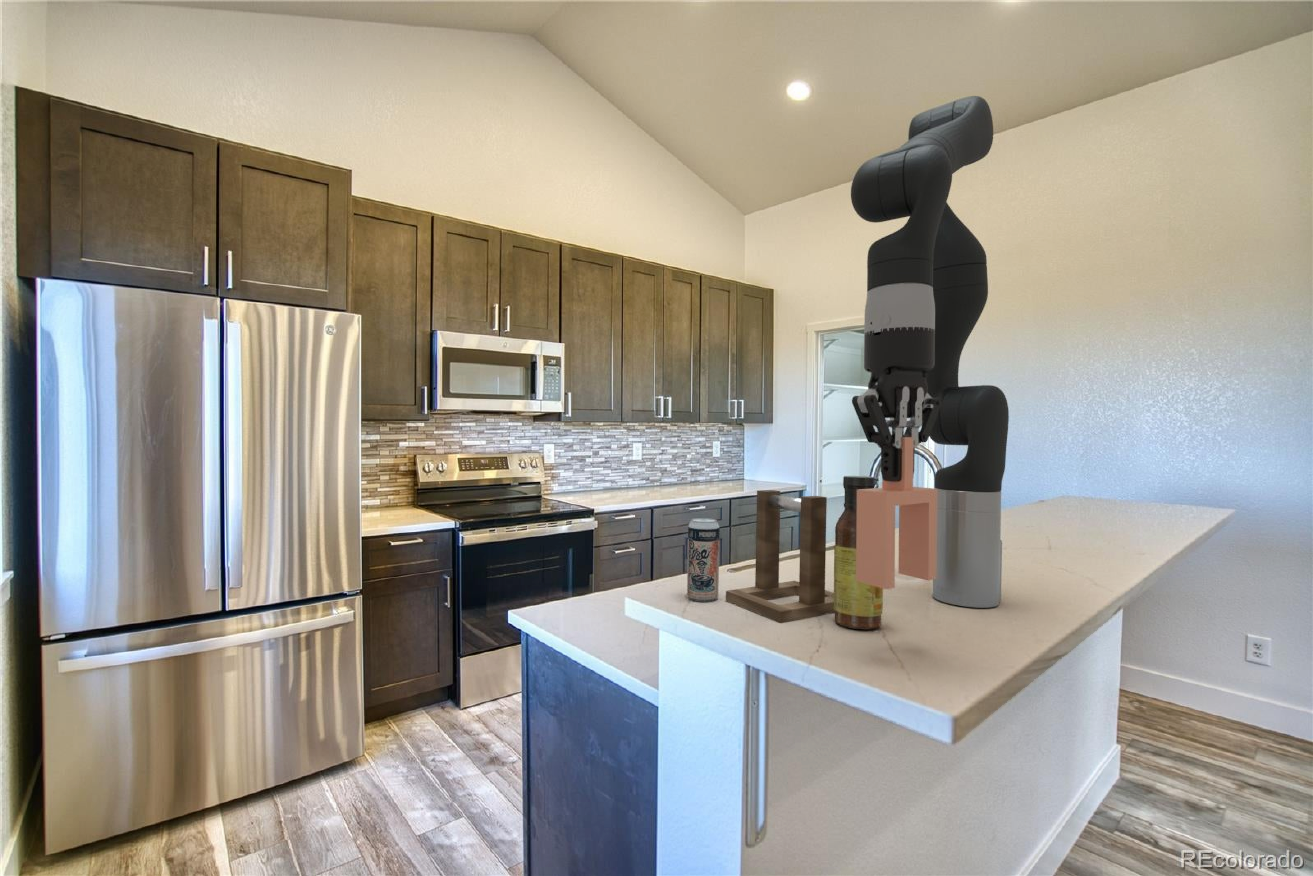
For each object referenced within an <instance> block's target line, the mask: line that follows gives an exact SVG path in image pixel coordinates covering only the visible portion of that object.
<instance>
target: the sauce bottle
mask: <svg viewBox="0 0 1313 876" xmlns="http://www.w3.org/2000/svg"><path fill="white" fill-rule="evenodd" d="M842 481H843V484H842V485H843V489H844V503H843V507H844V511H842V514H841V515H840V517H838V519H837V521H836V523H835V528H834V532H835V534H834V535H835V536H834V537H835V539H834V540H835V541H834V542H835V543H834V549H833V555H834V556H833V557H834V559H833V593H834V610H835V612H834V615H833V616H834V617H833V618H834V621H835V622H836V623H837V624H838V625H840V626H843V627H845V628H849V629H854V630H867V631H868V630H874V629H877V628H879V627H880V626H881V624H882V615H883V608H884V607H883V602H884V601H883V600H884V599H883V597H884V596H883V594H884V591H883V590H884V589H883V588H879V587H875V586H872V585H868V584H864V583H861V582H857V581H856V528H857V490H859V489H873V488H875V487H876V484H875V483H876V478H875V476H868V475H844V476H843V479H842Z"/></svg>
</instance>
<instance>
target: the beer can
mask: <svg viewBox="0 0 1313 876" xmlns="http://www.w3.org/2000/svg"><path fill="white" fill-rule="evenodd" d="M689 521H690V522H689V524H688V527H687V575H686V578H687V579H686V581H687V583H686V584H687V585H686V596H687V597H689V598H690V599H691V600H692V601H696V602H711V601H714V600H715V599H716V598H718V597H719V582H720V581H719V579H720V577H719V576H720V571H719V570H720V525H719V522H718V520H717V519H715V518H708V517H706V518H703V517H700V518H698V517H697V518H692V519H690V520H689Z"/></svg>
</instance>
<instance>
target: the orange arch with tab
mask: <svg viewBox="0 0 1313 876" xmlns="http://www.w3.org/2000/svg"><path fill="white" fill-rule="evenodd" d="M898 449H902V479H901V481H899V482H891V481H884V480H883V479H882V478H881V481H882V482H881V487H876V488H875V487H874V488H873V489H859V490H857V528H856V581H857V582H861V583H864V584H868V585H872V586H875V587H879V588H883V590H887V589H888V590H889V589H893V588H895V583H896V582H895V581H896V580H895V578H896V577H895V576H896V574H895V573H896V572H895V571H896V570H895V569H896V567H895V565H896V560H895V559H896V506H897V507H898V575H899V574H900V575H903V576H908V577H912V578H915V579H916V578H917V579H920V580H924V581H933V580H934V579H936V574H937V489H935V488H932V487H922V486H921V487H920V486H914V474H913V437H902V446H901V447H900V448H898Z"/></svg>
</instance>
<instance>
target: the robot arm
mask: <svg viewBox="0 0 1313 876" xmlns="http://www.w3.org/2000/svg"><path fill="white" fill-rule="evenodd" d="M907 136H908V141H906V142H904V143H903V144H902V145H901V146H899V147H898V148H896V149H893V150H890V151H888V152H884V153H882V154H879V155H877V156H874V157H872V158H870V159H868V160H866V161H865V162H864V163H862V164H861V165H860V166H859V168H858V169H857V171H856V173H855V175H854V176H853V179H852V182H851V187H850V200H851V204H852V207H853V209H854V211H855V213H856V215H858V217H859V218H861V219H862V220H864V221H866V222H868V223H873V224H875V223H884V222H889V221H892V220H898V219H903V218H907V217H908V220H907V222H906V223H905V224H904V225H903V226H902V227H901V228H900V229H897V230H896V231H893V232H892V233H890V234H887V235H885V236H883V237H881V238H879V239H877V240H876V241H874V242H873V243H872V244H871V245H870V247H869V248H868V252H867V259H866V264H867V265H866V268H867V271H866V273H867V277H866V278H867V280H866V282H867V284H866V285H867V287H866V289H867V290H866V300H865V301H866V302H865V306H864V307H865V308H864V324H863V325H864V327H863V328H864V329H863V330H864V333H863V335H864V337H863V338H864V339H863V342H864V343H863V344H864V345H863V346H864V347H863V349H864V350H863V368H864V370H865V372H867V373H870V378H869V381H868V383H867V390H866V391H865V392H864V393H863V394H860V395H854V396H853V397H852V399H851V404H852V406H853V408H854V410H855V413H856V415H857V419H858V420H859V423H860V426H861V428H862V430H863V433H864V435H865V438H866V440H867V442H868V443H874V444H876V445H877V447H878V448H880V472H881V473H880V475H881V480H882V479H883V480H884V481H891V482H899V481H901V479H902V449H898V448H900V447H901V446H902V437H913V475H914V474H915V449H917V448H918V447H919V445H920V444H921V443H927V442H928V440H929V438H930V440H931V441H933V442H934V443H935V444H938V445H944V446H967V449H966V450H967V451H966V452H965V453H966V454H965V456H964V457H963V458H962V459H961V460H960V461H958V462H956V463H954V464H951V465H949V466H945V467H942V468H940V469H938V470H937V471H936V472H935V476H934V489H937V574H936V579H934V580H932V597H933V598H934V599H936V600H937V601H939V602H942V603H946V604H950V605H953V606H954V605H955V606H960V607H967V608H981V609H983V608H994V607H998V606H999V604H1000V601H1002V577H1003V576H1002V570H1003V569H1002V568H1003V566H1002V565H1003V564H1002V563H1003V541H1002V539H1001V533H1002V532H1001V530H1002V529H1001V528H1002V527H1001V526H1002V525H1001V524H1002V486H1003V485H1002V484H1003V483H1002V482H1003V478H1004V474H1005V472H1006V471H1005V469H1006V460H1007V459H1006V458H1007V446H1008V445H1007V443H1008V433H1009V432H1008V431H1009V419H1010V415H1009V404H1008V400H1007V398H1006V395H1005V393H1004V392H1003V390H1002V389H1001V388H999V387H998V386H995V385H992V384H991V385H989V384H988V385H987V384H983V385H969V386H968V385H966V386H959V371H960V369H959V366H960V361H961V356H962V353H963V350H964V347H965V345H966V343H967V341H968V339H969V337H970V335H971V333H972V332H973V330H974V328H975V326H976V325H977V323H978V321H979V319H980V317H981V315H982V313H983V311H984V309H985V307H986V305H987V302H988V301H987V300H988V297H989V281H988V266H987V265H988V262H987V254H986V250H985V249H984V246H983V245H982V244H981V243H980V241H979V240H978V238H977V237H976V236H975V235H974V233H973V232H972V231H971V230H970V229H969V228H968V227H967V226H966V225H965V223H963V221H962V220H961V219H960V218H959V217H958V216H957V215H956V214H955V212H954V211H953V209H952V208H951V207H950V205H949V204H948V198H949V196H950V195H949V194H950V191H951V187H952V183H953V181H952V180H953V174H954V173H956V172H958V171H959V170H960V169H962V168H963V167H966V166H970V165H972V164H975V163H976V162H979V161H981V160H983V159H984V158H985V157H986V156H987V155H988V154H989V152H990V151H991V149H992V146H993V141H994V122H993V115H992V111H991V108H990V105H989V103H988V102H987V100H986V99H985V98H984V97H982V96H979V95H972V96H965V97H962V98H959V99H956V100H954V101H950V102H947V103H945V104H943V105H939V106H937V107H934V108H930V109H928V110H925V111H923V112H920V113H918V114H916V115H915V116H913V117H912V119H911V120H910V124H909V127H908V135H907ZM887 419H889V420H887ZM907 419H910V420H907ZM890 428H891V431H890ZM905 428H906V429H905ZM919 428H920V430H919ZM904 429H905V431H904ZM876 430H877V431H876Z"/></svg>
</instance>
